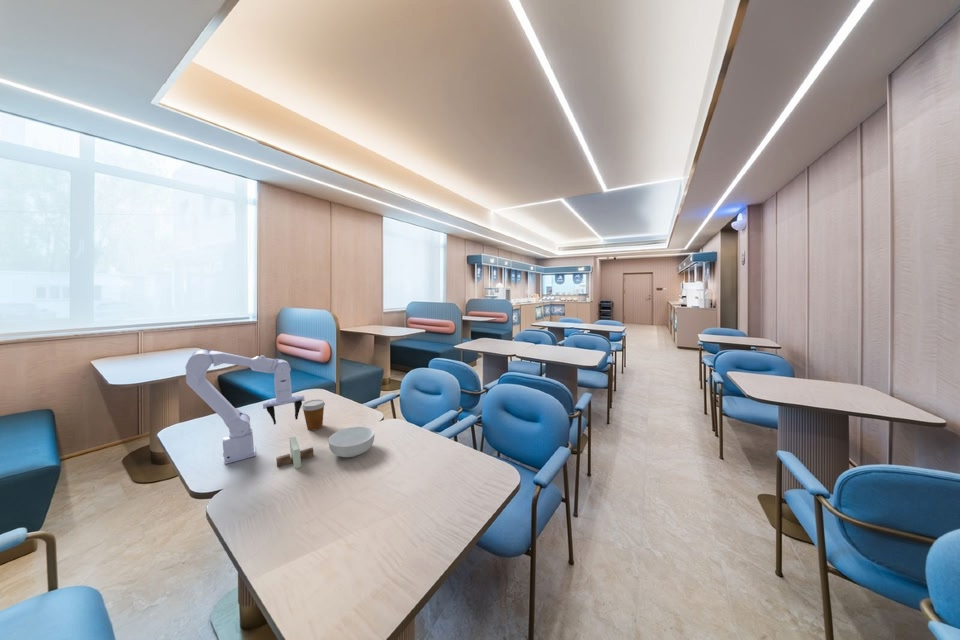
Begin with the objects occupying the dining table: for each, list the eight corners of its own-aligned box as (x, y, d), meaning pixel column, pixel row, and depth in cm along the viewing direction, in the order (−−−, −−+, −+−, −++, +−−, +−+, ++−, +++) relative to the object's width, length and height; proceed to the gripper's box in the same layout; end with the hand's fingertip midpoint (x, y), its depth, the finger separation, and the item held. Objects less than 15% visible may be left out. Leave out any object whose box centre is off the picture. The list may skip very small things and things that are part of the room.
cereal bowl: (359, 466, 115) (358, 448, 114) (319, 461, 118) (318, 444, 117) (382, 443, 131) (382, 427, 131) (347, 440, 135) (346, 424, 134)
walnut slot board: (277, 467, 115) (276, 459, 115) (276, 465, 116) (276, 457, 116) (313, 456, 122) (313, 448, 122) (313, 454, 123) (312, 447, 123)
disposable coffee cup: (319, 432, 142) (318, 406, 141) (298, 432, 142) (297, 406, 141) (330, 422, 152) (328, 399, 150) (310, 422, 152) (308, 399, 151)
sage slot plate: (301, 466, 115) (299, 448, 114) (294, 468, 114) (293, 450, 113) (296, 453, 124) (295, 436, 124) (290, 454, 123) (289, 437, 122)
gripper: (262, 395, 122) (265, 429, 123) (304, 388, 131) (307, 419, 132) (261, 391, 127) (264, 423, 129) (302, 384, 136) (304, 414, 138)
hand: (285, 421), depth 131 cm, fingers open, 7 cm apart
